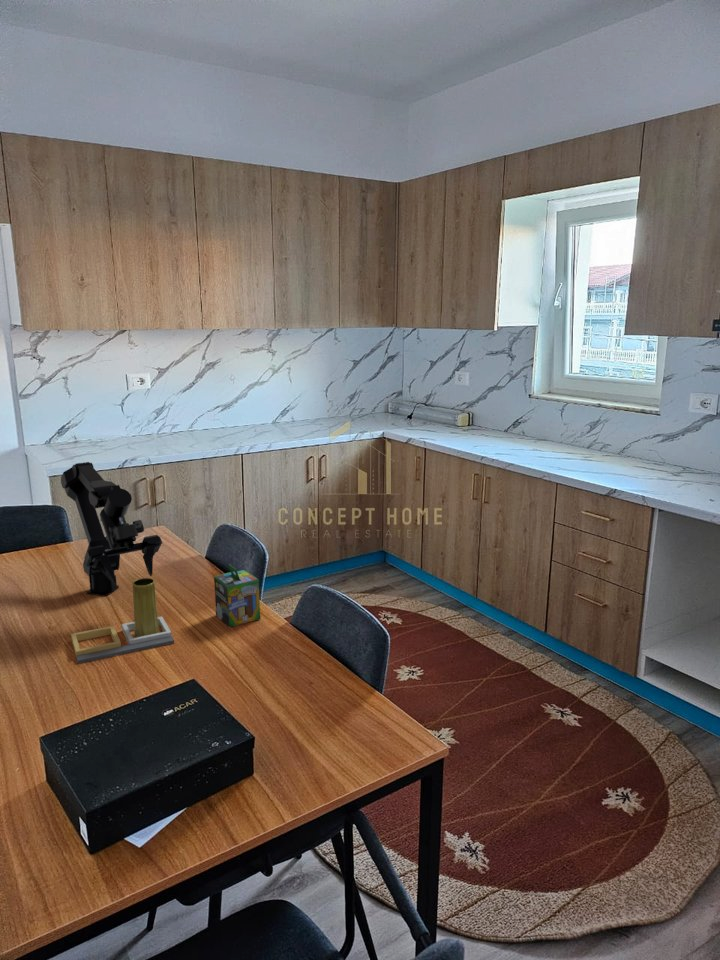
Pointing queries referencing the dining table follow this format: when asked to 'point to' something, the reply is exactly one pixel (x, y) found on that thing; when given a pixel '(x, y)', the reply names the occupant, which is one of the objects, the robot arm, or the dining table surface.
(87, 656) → the socket panel
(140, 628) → the vase
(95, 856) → the dining table surface
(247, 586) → the chalk box
